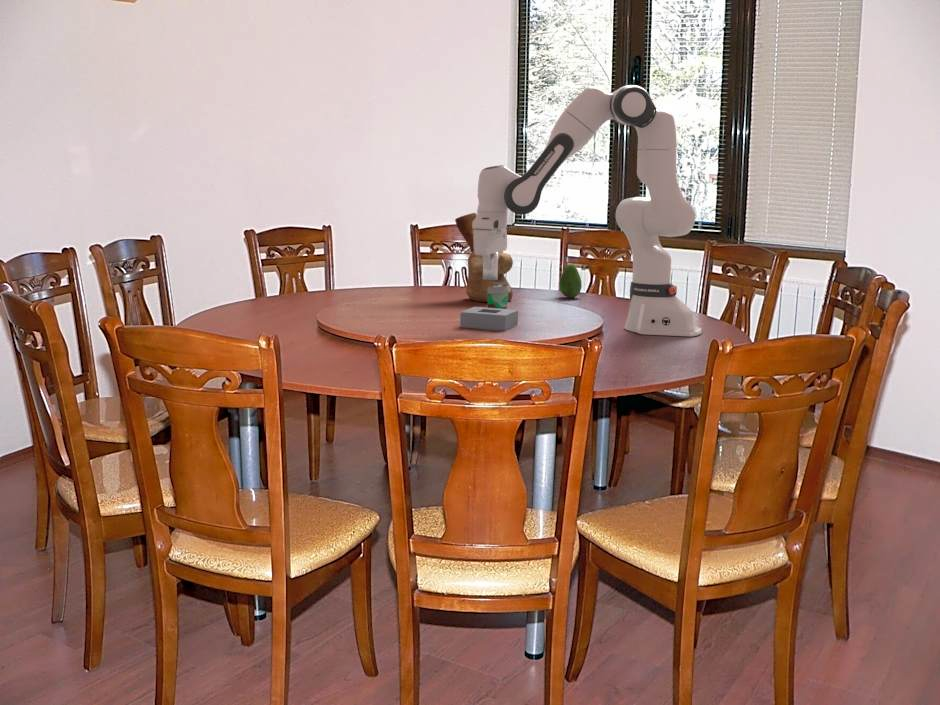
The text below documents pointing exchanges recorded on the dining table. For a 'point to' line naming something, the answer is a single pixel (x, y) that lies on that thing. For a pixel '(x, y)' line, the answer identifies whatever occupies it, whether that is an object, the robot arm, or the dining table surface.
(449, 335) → the dining table surface
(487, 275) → the cylinder
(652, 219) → the robot arm
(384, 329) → the dining table surface
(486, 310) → the slate jig
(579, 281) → the avocado
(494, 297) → the food container
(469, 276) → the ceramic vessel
